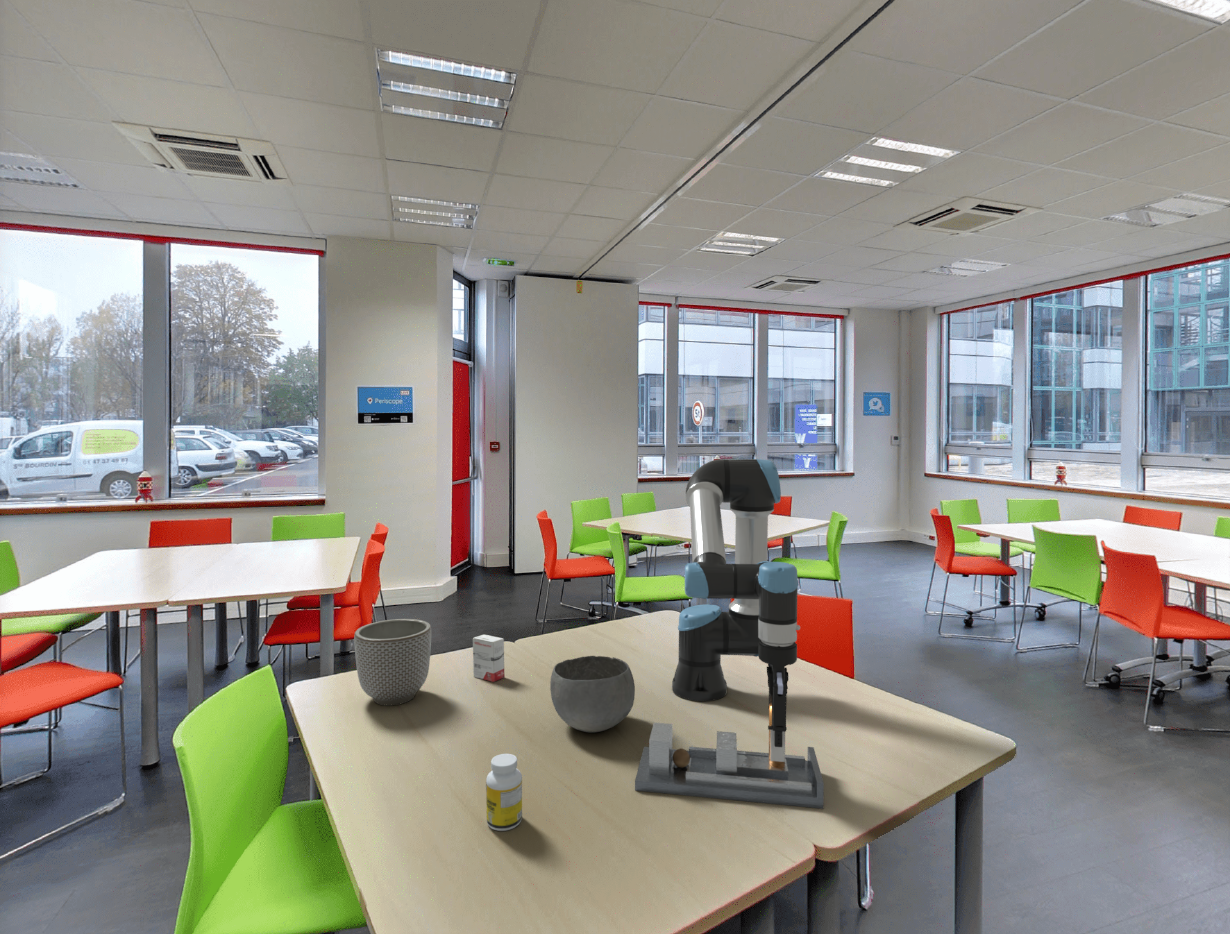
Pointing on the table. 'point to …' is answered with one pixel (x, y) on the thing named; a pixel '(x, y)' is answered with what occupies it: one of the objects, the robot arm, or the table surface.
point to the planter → (393, 659)
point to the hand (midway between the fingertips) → (776, 755)
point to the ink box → (488, 657)
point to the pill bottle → (504, 793)
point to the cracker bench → (704, 782)
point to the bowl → (592, 692)
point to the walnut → (681, 758)
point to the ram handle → (747, 759)
